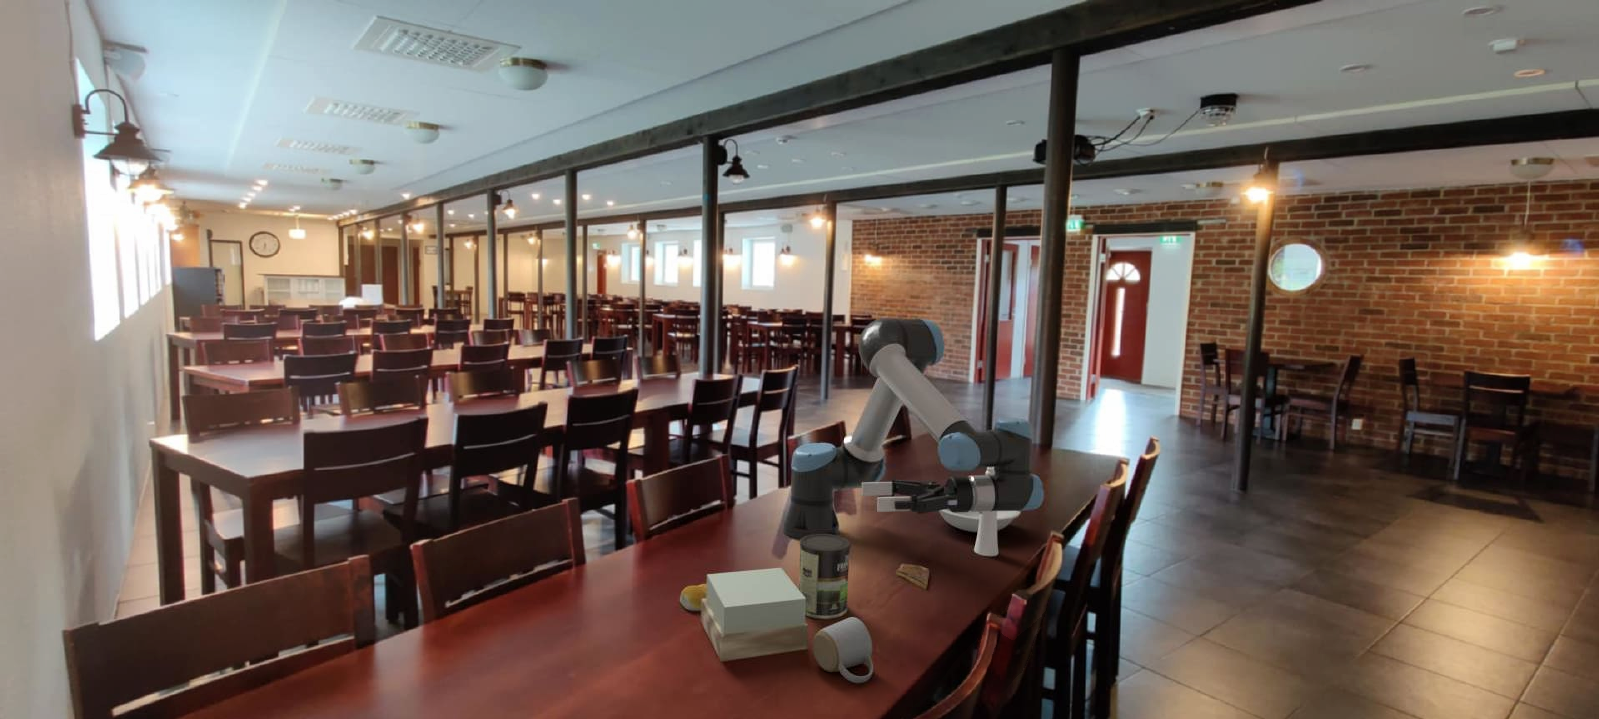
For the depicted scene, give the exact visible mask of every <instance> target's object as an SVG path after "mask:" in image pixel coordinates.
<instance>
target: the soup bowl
mask: <svg viewBox="0 0 1599 719" xmlns="http://www.w3.org/2000/svg"><path fill="white" fill-rule="evenodd" d="M938 512H939V514H940V515H941V517H942V518H943V520H945V521H946V522H947V523H948V524H949V525H951V526H952V527H954V528H957V529H959V530H962V531H966V532H971V533H978V527H979V519H980V514H979V512H971V511H969V512H958V513H954V512H951V511H950V510H949V509H945V510H939V511H938ZM1021 512H1022V511H997V532H998V531H1000V530H1002V529H1004V528H1006V527H1007V526H1009V525H1010V523H1011V522H1012V521H1013V520H1014V519H1017V518H1018V517H1019V516H1020V515H1021Z"/></svg>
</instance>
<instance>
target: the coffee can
mask: <svg viewBox="0 0 1599 719" xmlns="http://www.w3.org/2000/svg"><path fill="white" fill-rule="evenodd" d="M799 546H800V547H799V552H800V553H799V573H798V589H799V591H800V592H801V593H802V594H803V596H804V597H805V598H806V608H805V617H806V616H807V617H808V618H809V617H810V618H814V619H821V620H830V619H837V618H840V617H842V616H844V615H845V614H846V613H847V611H848V591H849V590H848V588H849V587H848V586H849V568H850V567H849V565H850V547H851V541H850V540H849V539H847V538H846V537H843V536H840V535H832V534H812V535H808V536H805V537H803V538H801V539H799Z"/></svg>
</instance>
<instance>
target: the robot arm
mask: <svg viewBox="0 0 1599 719" xmlns="http://www.w3.org/2000/svg"><path fill="white" fill-rule="evenodd" d="M944 353H945V339H944V334H943V332H942V331H941V328H940V326H939V325H938V324H936V322H934V321H933V320H930V319H927V318H926V319H923V318H920V317H915V318H889V317H886V318H885V317H883V318H879V319H876V320H873V321H871V322H870V323H869V324H868V325H867V326H865V328H864V329H863V331H862V332H861V333H860V337H859V340H858V354H859V357H860V359H861V361H862V363H863V366H864V367H865V368H866V369H867V371H868V372H869V373H870V374H871V375H872V376H873V377H874V378H877V379H876V381H875V383H874V385H873V388H872V390H871V392H870V394H869V396H868V399H867V401H866V403H865V406H864V408H863V410H862V412H861V414H860V416H859V419H858V421H857V423H856V425H855V428H854V430H853V432H851V433H850V432H849V433H848V434H846V435H845V436H844V439H843V441H842V443H841V446H838V447H836V446H835V445H834V444H832V443H828V442H819V443H817V442H813V443H812V442H811V443H810V442H809V443H807V444H802V445H800V446H798V447H797V448H796V449H795V450H794V451H793V453H792V457H791V458H792V459H791V465H790V468H791V478H790V479H791V481H790V482H791V483H790V503H789V506H788V509H787V512H786V514H785V517H784V519H783V523H782V524H783V525H782V532H783V533H784V534H786V535H787V536H789V537H791V538H793V539H794V538H795V539H798V540H800V539H801V538H803V537H805V536H808V535H812V534H832V535H837V536H839V534H840V522H839V519H838V515H837V512H836V509H835V508H836V507H835V504H834V502H835V501H834V500H835V492H837V491H846V490H854V489H861V496H862V497H865V496H867V497H868V496H877V499H876V502H877V503H876V504H877V505H876V512H878V513H880V512H881V513H882V512H883V513H885V512H914V513H915V512H917V514H919V515H923V514H929V513H933V512H939V510H945V509H949V510H950V511H951V512H954V513H958V512H969V511H971V512H979V514H983V511H1021V512H1023V511H1032V510H1036V509H1038V508H1040V507H1041V505H1042V503H1043V501H1044V495H1045V492H1044V489H1043V482H1042V480H1041V479H1040V477H1039V476H1038V475H1036V474H1032V449H1033V448H1032V447H1033V446H1032V445H1033V444H1032V443H1033V436H1032V434H1033V433H1032V424H1031V422H1030V421H1029V420H1027V419H1023V418H1016V417H1002V418H998V419H996V420H995V422H994V427H993V429H989V430H977V429H975V428H974V427H973V426H972V424H970V423H969V422H968V421H967V420H966V419H965V417H964V416H962V414H961V413H960V411H958V409H956V408H955V407H954V406H953V405H952V404H951V403H950V401H948V399H947V398H946V397H945V396H944V395H943V394H942V393H941V392H940V391H939V390H938V389H937V388H936V387H935V386H934V385H933V384H932V382H931V381H930V380H929V379H928V378H927V377H926V376H925V375H924V373H925V372H926V369H927V367H928V366H934V365H937V364H938V363H939V362H941V360H942V358H943V356H944ZM903 404H904V406H905V407H906V408H907V409H908V410H909V411H910V413H911V414H912V415H913V416H914V418H916V419H917V421H918V422H919V423H920V424H921V425H922V426H923V428H924V429H925V430H926V431H927V432H928V433H929V434H930V436H931V437H932V438H933V439H934V440H935V441H936V443H937V444H938V446H937V454H938V455H937V456H938V457H939V458H940V462H941V465H942V466H943V467H944V468H945V469H947V470H948V471H952V472H970V471H973V470H979V469H987V467H994V475H986V474H983V475H982V474H978V475H968V476H966V475H952V476H949V477H948V478H947V480H946V484H945V485H941V484H940V483H938V482H936V481H922V480H921V481H919V480H907V479H906V480H904V479H896V478H893V479H891V480H890V481H881V480H882V479H883V477H884V476H885V472H886V469H887V466H886V464H885V463H887V461H886V460H887V459H886V458H887V457H886V455H885V451H884V448H883V445H884V443H885V441H886V439H887V436H888V435H889V432H890V430H891V428H892V426H893V424H894V422H895V420H896V417H897V416H898V413H899V412H900V409H901V407H902V405H903ZM895 495H899V496H895ZM901 495H902V496H901ZM879 496H880V497H879ZM881 496H882V497H881Z"/></svg>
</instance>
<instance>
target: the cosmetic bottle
mask: <svg viewBox="0 0 1599 719" xmlns="http://www.w3.org/2000/svg"><path fill="white" fill-rule="evenodd" d="M985 475H994V467H987V468H986V471H985ZM973 551H974V553H976V554H977V555H979V556H983V557H996V556H998V554H999V547H998V531H997V511H983V514H980V519H979V527H978V532H977V535H976V540H975V545H974V549H973Z"/></svg>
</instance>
